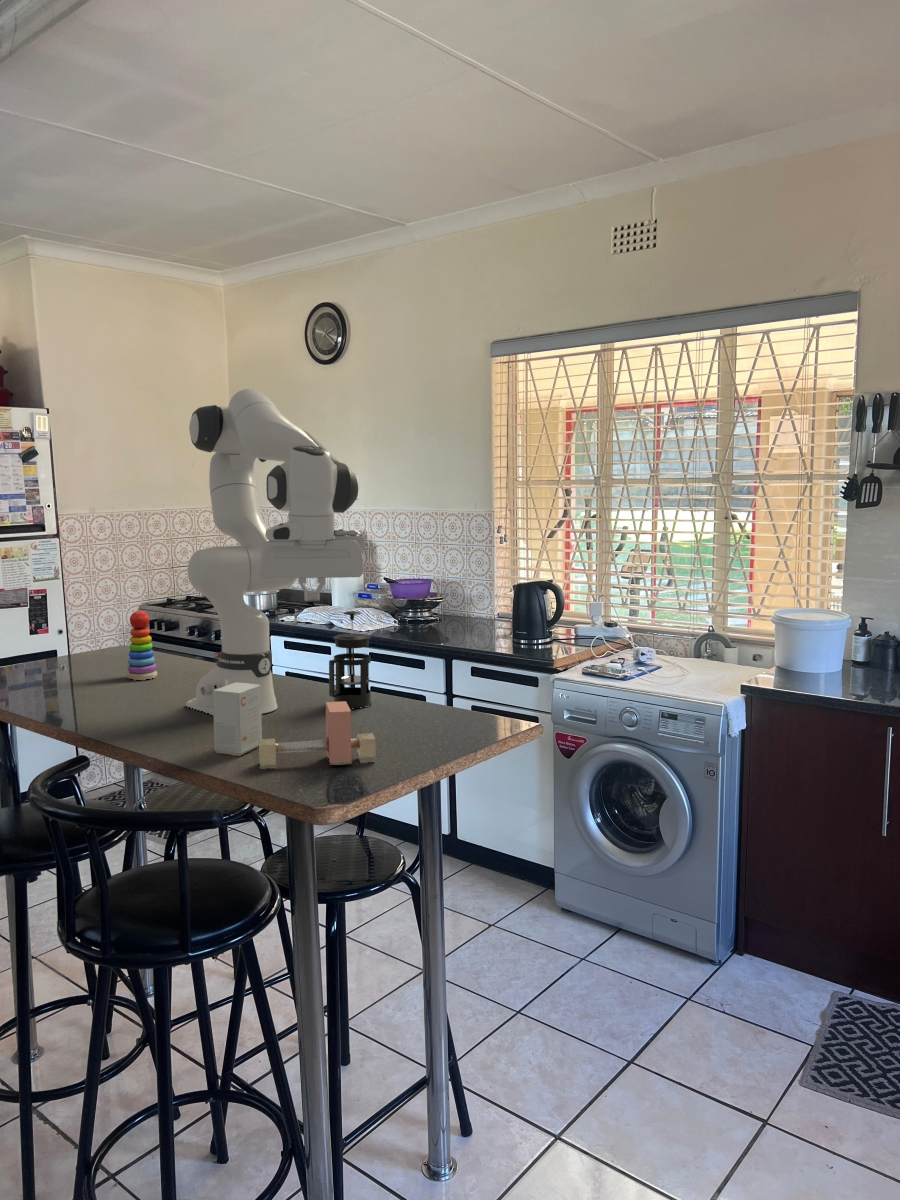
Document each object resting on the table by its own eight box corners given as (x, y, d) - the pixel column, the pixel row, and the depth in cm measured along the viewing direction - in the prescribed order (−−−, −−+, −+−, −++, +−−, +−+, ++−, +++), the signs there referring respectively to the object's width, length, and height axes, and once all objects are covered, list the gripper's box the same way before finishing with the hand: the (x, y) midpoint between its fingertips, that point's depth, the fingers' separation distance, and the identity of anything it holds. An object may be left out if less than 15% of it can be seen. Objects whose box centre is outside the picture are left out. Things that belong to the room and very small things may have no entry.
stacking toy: (125, 676, 249) (123, 609, 247) (155, 674, 253) (153, 608, 250) (128, 682, 242) (125, 613, 240) (159, 679, 246) (157, 611, 243)
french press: (357, 697, 227) (357, 607, 224) (381, 704, 221) (381, 611, 218) (319, 705, 219) (318, 611, 216) (343, 712, 213) (342, 616, 210)
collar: (330, 766, 171) (329, 712, 169) (326, 753, 179) (325, 702, 177) (351, 764, 172) (351, 711, 170) (346, 752, 179) (346, 701, 178)
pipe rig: (259, 769, 170) (259, 745, 169) (259, 763, 174) (258, 739, 173) (375, 762, 175) (375, 738, 174) (372, 756, 179) (372, 733, 178)
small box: (236, 742, 187) (235, 681, 186) (263, 746, 185) (261, 684, 183) (213, 753, 180) (211, 689, 178) (240, 757, 178) (238, 692, 176)
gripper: (362, 529, 181) (362, 597, 182) (258, 529, 176) (259, 599, 178) (366, 531, 174) (366, 601, 176) (258, 531, 170) (260, 603, 172)
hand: (312, 600), depth 177 cm, fingers closed
